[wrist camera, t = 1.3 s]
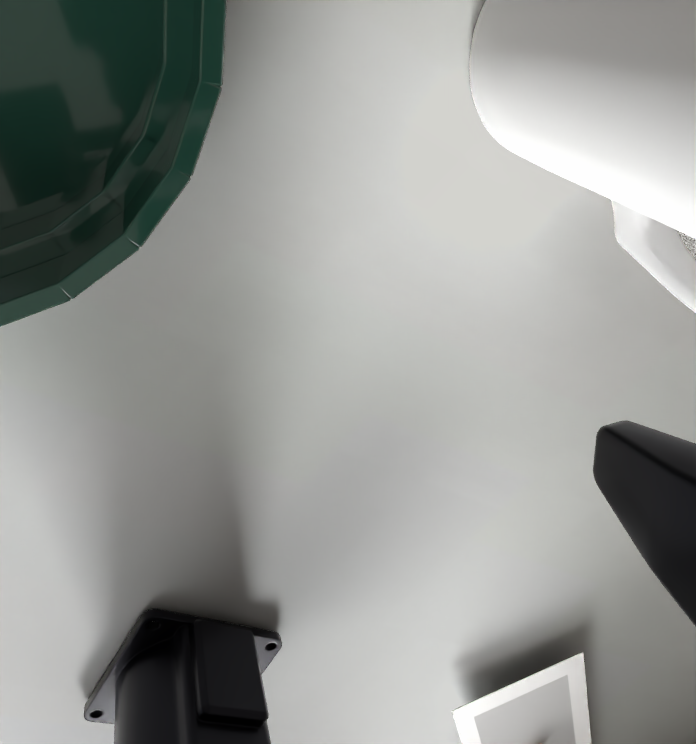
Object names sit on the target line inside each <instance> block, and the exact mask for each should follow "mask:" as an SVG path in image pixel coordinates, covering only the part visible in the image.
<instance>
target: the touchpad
mask: <svg viewBox="0 0 696 744" xmlns="http://www.w3.org/2000/svg"><path fill="white" fill-rule="evenodd" d="M452 714H453V717H454V720H455V723H456V726H457V729H458V733H459V736H460V739H461V742H462V744H591V733H590V722H589V711H588V700H587V689H586V678H585V667H584V656H583V652H581V653H579V654H577V655H574V656H572V657H570V658H568V659H565V660H563V661H561V662H559V663H557V664H554V665H552V666H550V667H548V668H546V669H543V670H541V671H539V672H537V673H534V674H532V675H530V676H528V677H526V678H523V679H521V680H519V681H517V682H514V683H512V684H510V685H508V686H506V687H503V688H501V689H499V690H497V691H495V692H492V693H490V694H488V695H486V696H483V697H481V698H479V699H477V700H475V701H472V702H470V703H468V704H466V705H463V706H461V707H459V708H457V709H455V710H452Z"/></svg>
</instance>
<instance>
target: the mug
mask: <svg viewBox="0 0 696 744" xmlns="http://www.w3.org/2000/svg"><path fill="white" fill-rule="evenodd" d="M469 78H470V87H471V93H472V97H473V101H474V104H475V107H476V110H477V112H478V115H479V117H480V119H481V121H482V123H483V124H484V126H485V127H486V129H487V130H488V132H489V133H490V134H491V135H492V136H493V138H494V139H495V140H496V141H497V142H499V143H500V144H501V145H502V146H503V147H505V148H506V149H508V150H509V151H511V152H513V153H515V154H517V155H518V156H520V157H522V158H524V159H526V160H528V161H530V162H532V163H534V164H536V165H538V166H540V167H542V168H544V169H546V170H548V171H550V172H552V173H554V174H557V175H559V176H561V177H563V178H565V179H568V180H570V181H572V182H574V183H576V184H579V185H581V186H583V187H585V188H587V189H590V190H592V191H594V192H596V193H598V194H600V195H603V196H605V197H607V198H609V199H611V203H612V208H613V214H614V230H615V237H616V239H617V241H618V243H619V244H620V245H621V246H622V247H623V248H624V249H625V250H626V251H627V252H628V253H629V254H630V255H631V256H632V257H633V258H634V259H635V260H637V261H638V262H639V263H640V264H641V265H642V266H643V267H644V268H645V269H646V270H647V271H648V272H649V273H650V274H651V275H652V276H653V277H654V278H656V279H657V280H658V281H659V282H660V283H661V284H662V285H663V286H664V287H665V288H666V289H667V290H668V291H670V292H671V293H672V294H673V295H674V296H675V297H676V298H678V299H679V300H680V301H681V302H682V303H683V304H685V305H686V306H687V307H688V308H690V309H691V310H692V311H693V312H695V313H696V259H695V258H694V256H693V255H692V254H691V252H690V251H689V249H688V248H687V247H686V245H685V243H684V242H683V240H682V239H681V237H680V235H679V233H678V232H677V231H680V232H682V233H684V234H686V235H688V236H690V237H692V238H695V239H696V0H486V1H485V3H484V5H483V7H482V9H481V12H480V14H479V17H478V20H477V23H476V26H475V29H474V33H473V37H472V42H471V48H470V57H469Z"/></svg>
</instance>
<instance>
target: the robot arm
mask: <svg viewBox="0 0 696 744" xmlns="http://www.w3.org/2000/svg"><path fill="white" fill-rule="evenodd" d="M593 473H594V478H595V481H596V483H597V485H598V487H599V489H600V490H601V492H602V494H603V495H604V497H605V498H606V500H607V501H608V503H609V505H610V506H611V508H612V509H613V511H614V512H615V514H616V516H617V517H618V519H619V520H620V522H621V523H622V525H623V527H624V528H625V530H626V531H627V533H628V534H629V536H630V538H631V539H632V541H633V542H634V544H635V546H636V547H637V549H638V550H639V552H640V553H641V555H642V557H643V558H644V559H645V561H646V562H647V564H648V565H649V567H650V568H651V570H652V571H653V573H654V574H655V575H656V576H657V578H658V579H659V580H660V582H661V583H662V584H663V586H664V587H665V588H666V590H667V591H668V592H669V593H670V595H671V596H672V597H673V598H674V600H675V601H676V602H677V603H678V605H679V606H680V607H681V609H682V610H683V611H684V612H685V614H686V615H687V616H688V617H689V619H690V620H691V621H692V623H693V624H694V625H695V626H696V444H695V443H692V442H689V441H686V440H683V439H680V438H677V437H674V436H672V435H669V434H666V433H663V432H660V431H657V430H654V429H651V428H648V427H645V426H642V425H639V424H636V423H633V422H630V421H619V422H616V423H612V424H609V425H606V426H603V427H601V428H600V429H599V431H598V432H597V436H596V446H595V455H594V465H593ZM152 621H155V622H152ZM281 647H282V642H281V637H280V635H279V634H278V633H277V632H274V631H268V630H263V629H258V628H253V627H248V626H243V625H237V624H232V623H227V622H222V621H217V620H212V619H207V618H201V617H196V616H191V615H186V614H181V613H176V612H170V611H165V610H160V609H151V610H148V611H146V612H144V613H143V614H142V615H141V616H140V618H139V620H138V621H137V623H136V624H135V626H134V628H133V629H132V631H131V632H130V634H129V636H128V637H127V639H126V640H125V642H124V644H123V645H122V647H121V648H120V650H119V651H118V653H117V655H116V656H115V658H114V659H113V661H112V663H111V664H110V666H109V667H108V669H107V671H106V672H105V674H104V675H103V677H102V679H101V680H100V682H99V683H98V685H97V687H96V688H95V690H94V691H93V693H92V695H91V696H90V698H89V699H88V701H87V702H86V704H85V707H84V718H85V719H86V720H87V721H91V722H100V723H110V724H115V733H114V744H271V741H270V736H269V730H268V725H267V719H268V709H267V703H266V698H265V693H264V687H263V682H262V677H261V675H262V673H263V672H264V670H265V669H266V668H267V666H268V665H269V664H270V662H271V661H272V660H273V658H274V657H275V655H276V654H277V653H278V651H279V650H280V649H281Z"/></svg>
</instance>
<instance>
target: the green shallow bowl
mask: <svg viewBox="0 0 696 744" xmlns="http://www.w3.org/2000/svg"><path fill="white" fill-rule="evenodd" d="M226 9H227V0H0V327H1V326H3V325H6V324H9V323H11V322H14V321H17V320H19V319H22V318H25V317H27V316H30V315H33V314H36V313H38V312H41V311H44V310H46V309H49V308H52V307H54V306H57V305H60V304H62V303H65V302H68V301H70V300H71V299H73V298H75V297H76V296H78V295H79V294H80V293H82V292H83V291H84V290H86V289H87V288H88V287H90V286H91V285H92V284H94V283H95V282H96V281H98V280H99V279H101V278H102V277H103V276H105V275H106V274H107V273H109V272H110V271H111V270H113V269H114V268H115V267H117V266H118V265H119V264H121V263H122V262H123V261H125V260H126V259H127V258H129V257H130V256H131V255H133V254H134V253H135V252H137V251H138V250H139V248H140V247H142V246H143V245H144V243H145V242H146V240H147V239H148V238H149V236H150V235H151V234H152V232H153V231H154V229H155V228H156V227H157V225H158V224H159V222H160V221H161V220H162V218H163V217H164V216H165V214H166V213H167V211H168V210H169V209H170V207H171V206H172V204H173V203H174V202H175V200H176V199H177V198H178V196H179V195H180V193H181V192H182V191H183V189H184V188H185V186H186V185H187V184H188V182H189V181H190V179H191V177H190V176H192V175H193V173H194V170H195V167H196V164H197V161H198V158H199V155H200V152H201V149H202V146H203V143H204V140H205V137H206V134H207V131H208V128H209V126H210V123H211V120H212V117H213V114H214V111H215V108H216V105H217V102H218V99H219V96H220V93H221V87H220V86H222V84H223V67H224V48H225V28H226Z"/></svg>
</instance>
